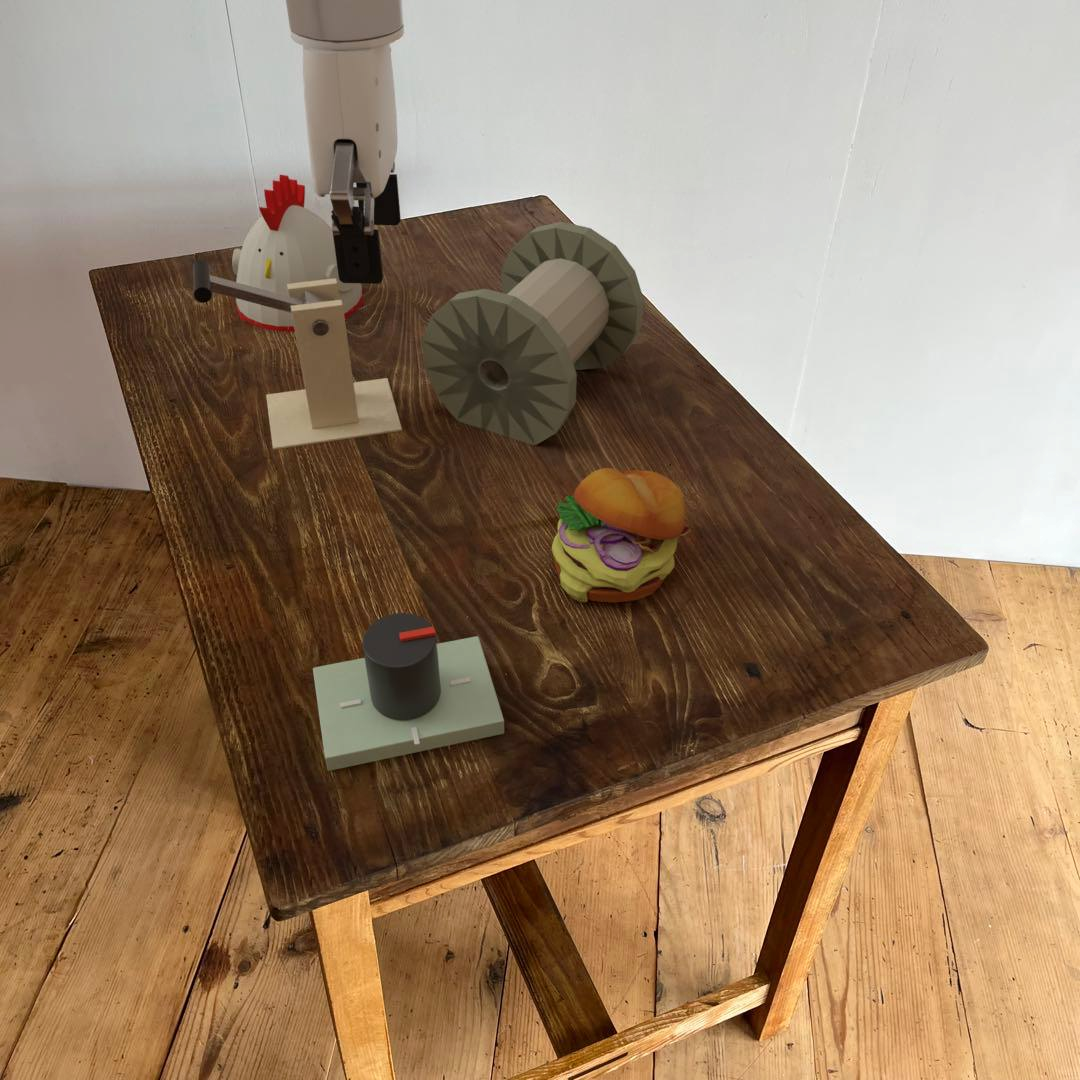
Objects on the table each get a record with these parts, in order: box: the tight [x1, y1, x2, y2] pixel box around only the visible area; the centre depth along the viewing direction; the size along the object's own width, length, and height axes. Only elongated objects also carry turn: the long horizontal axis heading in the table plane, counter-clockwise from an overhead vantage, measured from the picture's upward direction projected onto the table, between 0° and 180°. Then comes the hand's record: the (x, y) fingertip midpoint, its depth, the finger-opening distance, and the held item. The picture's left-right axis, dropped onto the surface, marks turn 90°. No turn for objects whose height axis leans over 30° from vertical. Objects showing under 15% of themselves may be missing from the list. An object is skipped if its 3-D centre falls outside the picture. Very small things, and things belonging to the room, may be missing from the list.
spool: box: [421, 221, 645, 446], centre depth 97 cm, size 16×15×15 cm
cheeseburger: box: [551, 467, 691, 603], centre depth 81 cm, size 10×11×10 cm
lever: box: [192, 259, 335, 313], centre depth 88 cm, size 12×5×2 cm, turn 105°
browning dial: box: [361, 612, 441, 720], centre depth 68 cm, size 5×5×6 cm
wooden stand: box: [265, 278, 403, 451], centre depth 94 cm, size 12×9×14 cm
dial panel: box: [312, 635, 505, 772], centre depth 71 cm, size 12×9×3 cm
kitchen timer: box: [231, 174, 364, 332], centre depth 110 cm, size 14×14×15 cm
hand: (371, 251), depth 79 cm, fingers open, 9 cm apart
